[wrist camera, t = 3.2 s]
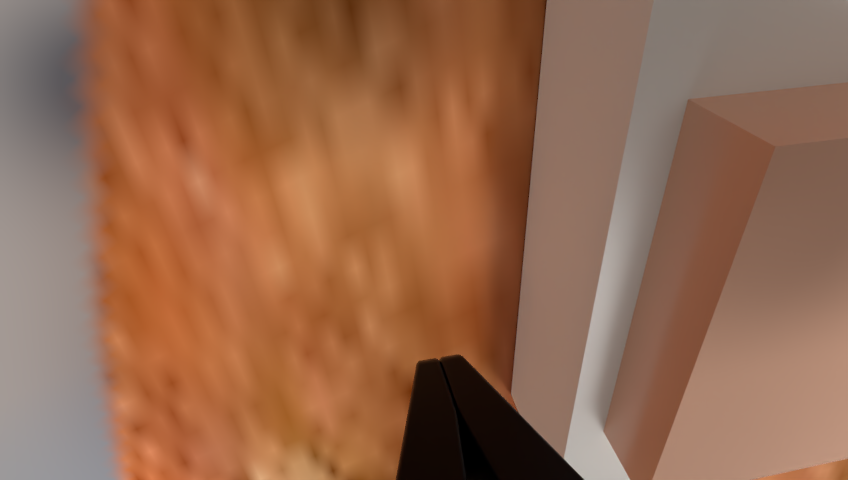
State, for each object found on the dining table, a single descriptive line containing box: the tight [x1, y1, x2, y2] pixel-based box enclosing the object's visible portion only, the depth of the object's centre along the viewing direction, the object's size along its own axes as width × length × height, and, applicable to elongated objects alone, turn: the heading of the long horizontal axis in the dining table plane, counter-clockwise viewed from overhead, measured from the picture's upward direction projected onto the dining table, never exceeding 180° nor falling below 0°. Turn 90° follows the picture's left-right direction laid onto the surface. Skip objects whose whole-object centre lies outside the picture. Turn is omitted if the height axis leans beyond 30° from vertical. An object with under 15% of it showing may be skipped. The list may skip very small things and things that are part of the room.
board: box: [511, 0, 848, 480], centre depth 14 cm, size 15×12×4 cm
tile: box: [603, 82, 848, 480], centre depth 11 cm, size 9×6×2 cm, turn 2°
